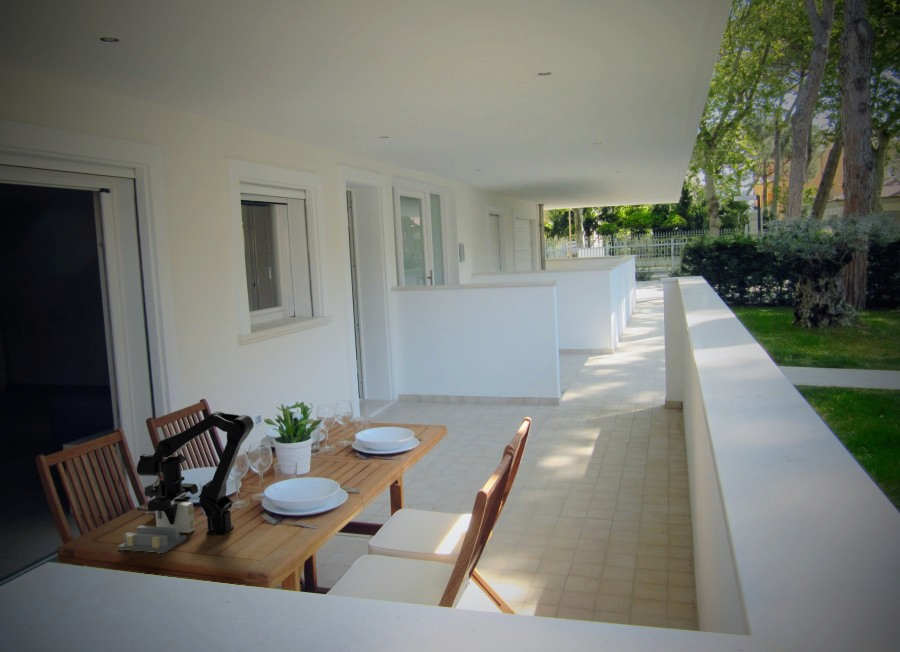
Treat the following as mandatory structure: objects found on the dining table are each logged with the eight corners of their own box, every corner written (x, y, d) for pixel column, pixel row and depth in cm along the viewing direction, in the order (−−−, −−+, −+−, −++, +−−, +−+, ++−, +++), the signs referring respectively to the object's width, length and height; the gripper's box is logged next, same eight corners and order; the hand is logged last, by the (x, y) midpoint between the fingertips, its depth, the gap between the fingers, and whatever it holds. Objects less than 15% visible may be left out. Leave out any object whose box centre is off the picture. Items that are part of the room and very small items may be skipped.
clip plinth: (186, 539, 219) (185, 526, 218) (163, 553, 208) (162, 540, 208) (142, 535, 223) (141, 523, 222) (118, 550, 212) (117, 536, 212)
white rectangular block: (196, 529, 226) (194, 502, 226) (189, 534, 223) (187, 506, 222) (162, 527, 230) (160, 500, 229) (155, 531, 226) (153, 504, 225)
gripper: (168, 466, 236) (171, 510, 237) (130, 483, 218) (134, 531, 219) (197, 467, 233) (200, 512, 235) (161, 485, 215) (165, 534, 217)
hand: (175, 522), depth 226 cm, fingers closed on white rectangular block, 3 cm apart
